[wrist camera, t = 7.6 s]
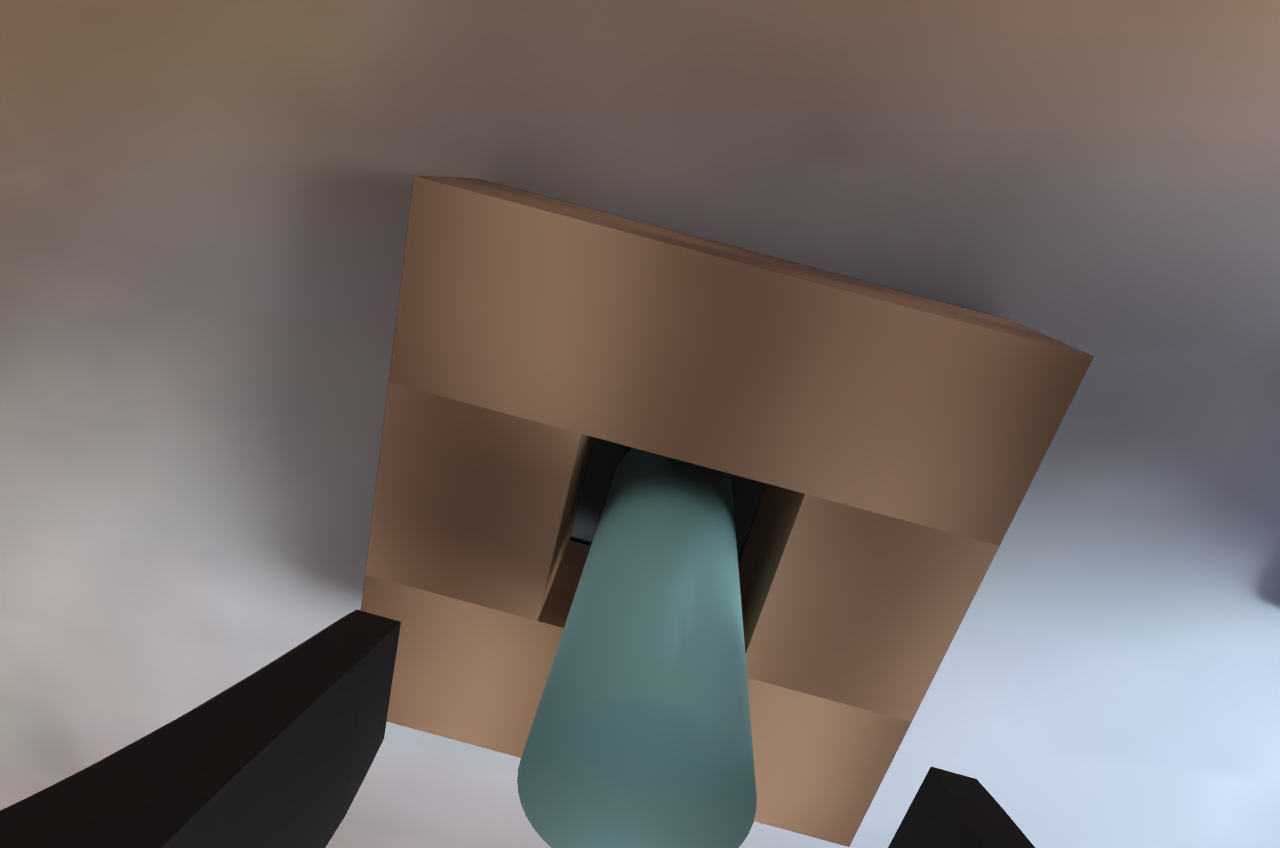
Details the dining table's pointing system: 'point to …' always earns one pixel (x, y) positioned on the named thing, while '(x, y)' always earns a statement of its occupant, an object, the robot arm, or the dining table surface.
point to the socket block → (703, 435)
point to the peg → (649, 676)
